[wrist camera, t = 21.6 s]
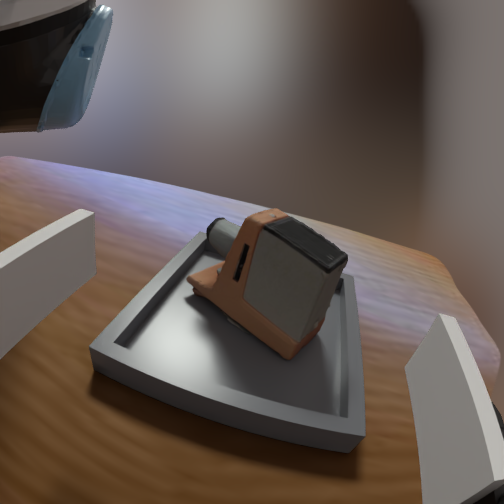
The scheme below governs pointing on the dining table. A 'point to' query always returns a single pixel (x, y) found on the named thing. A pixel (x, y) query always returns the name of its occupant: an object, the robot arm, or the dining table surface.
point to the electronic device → (272, 278)
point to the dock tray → (237, 361)
